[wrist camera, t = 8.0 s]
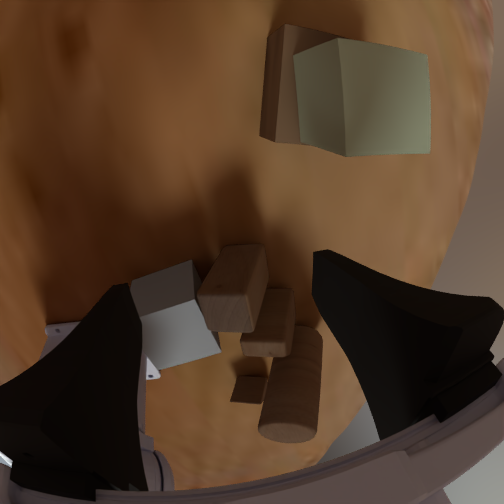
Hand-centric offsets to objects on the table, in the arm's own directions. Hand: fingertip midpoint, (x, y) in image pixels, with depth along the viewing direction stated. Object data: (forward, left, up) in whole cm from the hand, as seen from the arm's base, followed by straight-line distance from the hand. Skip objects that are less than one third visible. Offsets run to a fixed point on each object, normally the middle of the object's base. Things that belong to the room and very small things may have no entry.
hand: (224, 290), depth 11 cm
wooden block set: (+3, -12, -11) cm, 16 cm away
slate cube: (-4, -7, -10) cm, 13 cm away
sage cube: (+8, +7, -6) cm, 12 cm away
